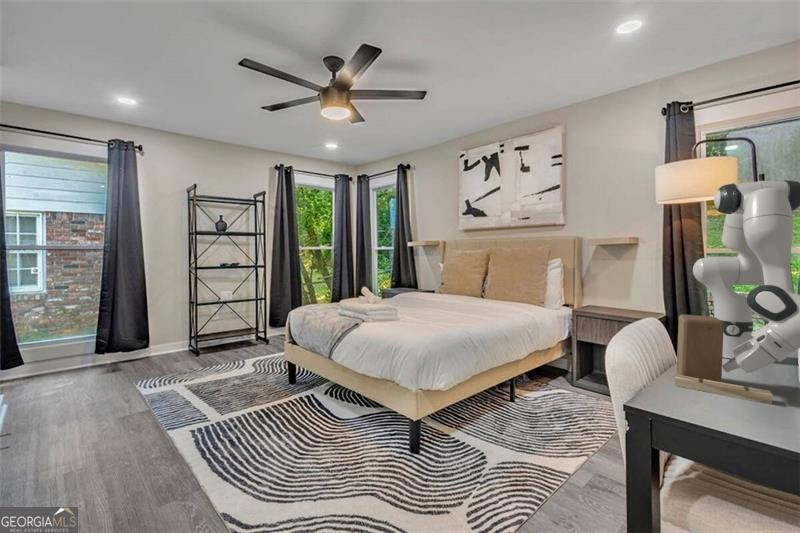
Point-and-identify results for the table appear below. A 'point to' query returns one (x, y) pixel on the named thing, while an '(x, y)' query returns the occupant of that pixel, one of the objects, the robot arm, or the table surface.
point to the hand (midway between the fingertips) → (724, 369)
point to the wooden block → (700, 347)
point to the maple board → (724, 389)
